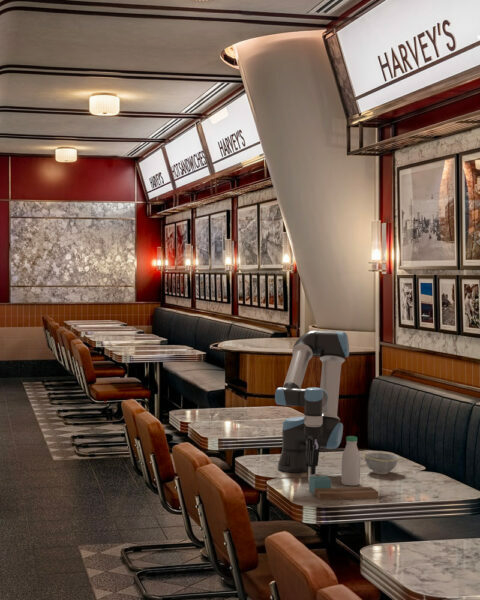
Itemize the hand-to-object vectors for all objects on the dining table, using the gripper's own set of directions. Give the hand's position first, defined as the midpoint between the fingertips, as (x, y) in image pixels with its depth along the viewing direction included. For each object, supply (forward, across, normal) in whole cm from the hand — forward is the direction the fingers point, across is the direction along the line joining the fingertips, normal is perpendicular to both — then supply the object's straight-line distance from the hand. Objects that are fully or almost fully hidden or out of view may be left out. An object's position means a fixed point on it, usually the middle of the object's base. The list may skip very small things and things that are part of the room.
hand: (311, 481), depth 368 cm
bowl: (+2, -20, +38) cm, 43 cm away
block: (+2, +12, 0) cm, 12 cm away
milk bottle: (+2, -1, +17) cm, 17 cm away
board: (+2, +19, +8) cm, 21 cm away
